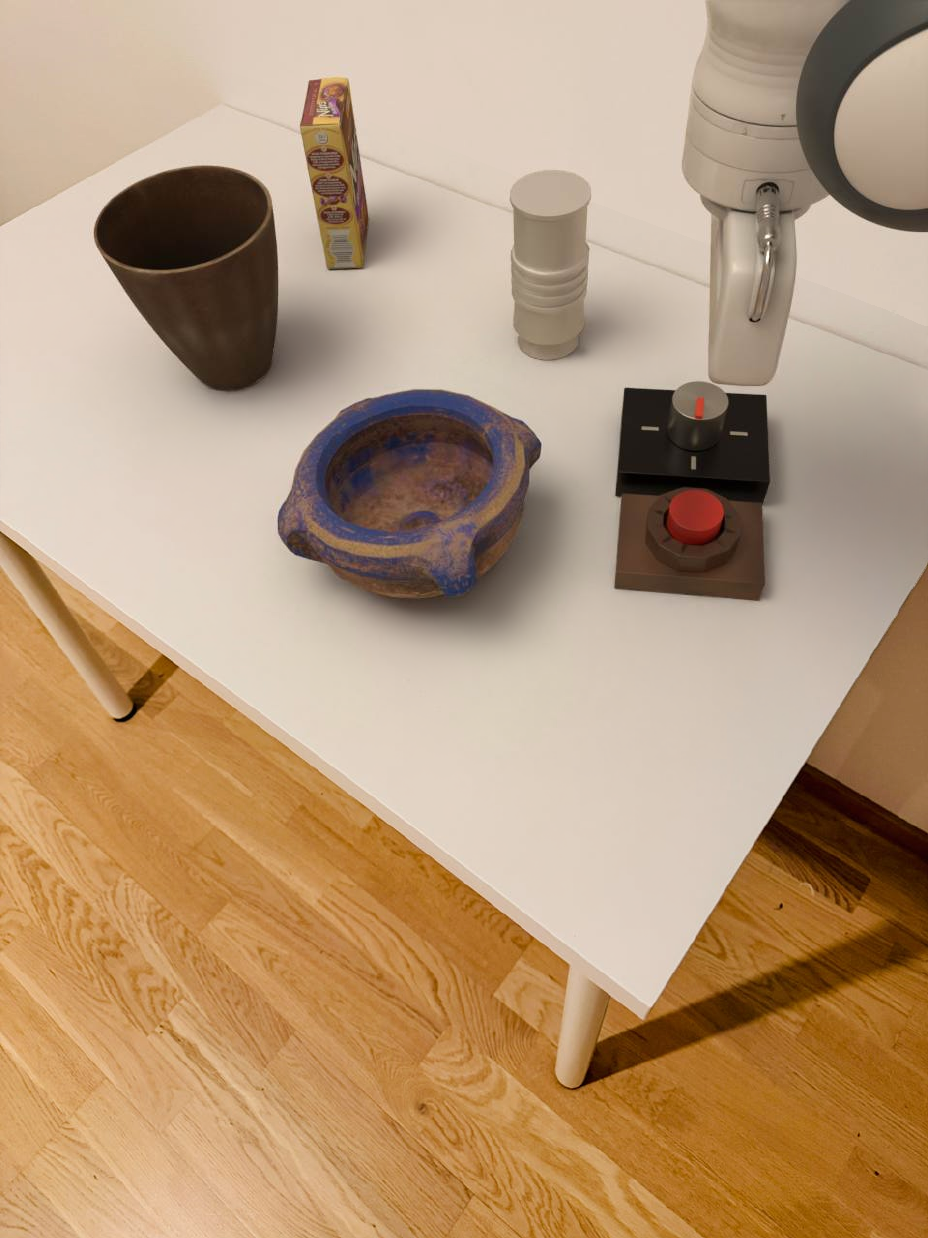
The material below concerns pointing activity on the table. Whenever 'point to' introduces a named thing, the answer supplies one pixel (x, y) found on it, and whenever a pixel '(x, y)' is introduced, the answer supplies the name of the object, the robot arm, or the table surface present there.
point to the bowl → (411, 492)
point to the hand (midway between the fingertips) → (725, 344)
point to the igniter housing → (690, 550)
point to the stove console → (665, 466)
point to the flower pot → (199, 267)
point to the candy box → (335, 171)
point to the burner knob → (697, 415)
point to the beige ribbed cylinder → (549, 261)
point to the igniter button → (695, 517)
